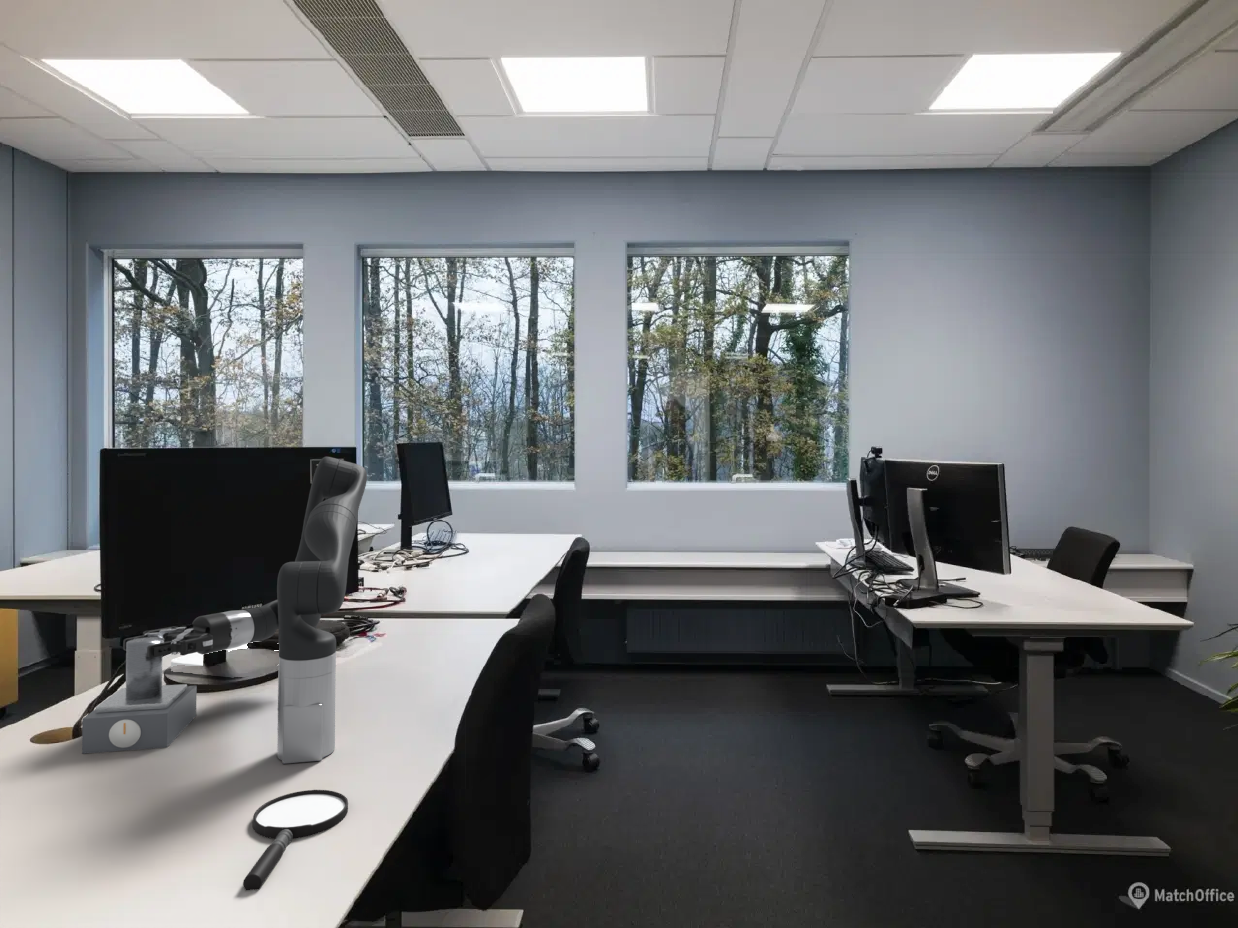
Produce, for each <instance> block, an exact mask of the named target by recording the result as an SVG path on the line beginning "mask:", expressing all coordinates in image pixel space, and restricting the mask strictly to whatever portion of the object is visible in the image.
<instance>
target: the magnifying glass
mask: <svg viewBox="0 0 1238 928" xmlns="http://www.w3.org/2000/svg"><path fill="white" fill-rule="evenodd" d="M348 811H349V801H348V798H347V797H346V796H345V795H344V794H342V793H340V792H337V791H335V790H327V789H309V790H300V791H295V792H292V793H290V792H289V793H287V794H284V795H280V796H278V797H275V798H273V799H270V800H268V801H267V802H264V804H262V805H261V806H259V807H258V808H257V809H256V810H255V811H254V813H253V816H252V828H253V831H254V833H256V834H257V835H259V836H261V837H263V838H266V839H270V840H271V839H272V840H273V841H272V842H271V843H270V844H269V846H267V847H266V849H265V850H264V852H263V853H262V854H261V855H260V857H259V858H258V860H257V861H256V862H255V863H254V866H252V868H251V869H250V871H249V872H248V873H247V875H245V878H244V879H243V882H242V886H243V888H244V890H245V891H257V890H260V889H261V887H262V886H263V885H264V884H265V882H266V880H267V879H268V877H269V876H270V875H271V872H273V870H274V869H275V867H276V866H277V864H278V863H279V861H280V859H281V858H282V857H283V855H284V852H285V851H286V848H287V846H288V845H290V843H291V842H292V841H293V840H296V839H302V838H307V837H311V836H314V835H318V834H320V833H323V832H325V831H327V830H330V829H332V828H333V827H336V826H337V825H338V824H339V823H341V822H342V821H343V820H344V819H346V817H347V814H348V813H349V812H348Z"/></svg>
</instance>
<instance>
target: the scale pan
mask: <svg viewBox="0 0 1238 928" xmlns="http://www.w3.org/2000/svg"><path fill="white" fill-rule="evenodd" d="M187 686H188V684H187V683H185V684H165V685H162V693H161V694H160V695H158V696H156V697H152V698H148V699H141V700H129V699H126V687H121V688H120V689H118V690H117V691H115V692H114V693H113V694H111V695H110V696H109V697H108V698H106V699H104V701H102V702H100V703H99V704H98V705H97V706H96V707H95V709H96V713H103V712H118V711H134V710H150V709H166V708H167V707H168V706H170V705H171V704H172V703H173V702H174V701H175V700H176V699H177V698H178V697H179V696H180V695H181V694H182V693H183V692H184V691H186V690H187Z"/></svg>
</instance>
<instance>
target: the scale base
mask: <svg viewBox="0 0 1238 928" xmlns="http://www.w3.org/2000/svg"><path fill="white" fill-rule="evenodd" d="M197 690H198V688H197V685H187V690H186V691H184V692H183V693H182V694H181V695H180V696H179V697H178V698H177V699H176V700H175V701H174V702H173V703H172V704H171V705H170V706H168V707H167V708H166V709H150V710H134V711H118V712H103V713H96V708H95V709H93V710H92V711H91V712H90V713H88V714H87V715H86V716H84V717H83V718H82V719H81V720H82V721H81V723H82V728H81V729H82V730H81V731H82V733H81V736H82V737H81V742H82V743H81V754H94V753H95V754H97V753H107V752H109V753H110V752H122V751H123V752H124V751H133V750H134V751H135V750H149V749H150V750H151V749H161V748H163V749H164V748H168V747H169V746H170V745H171V744H172V743H173V742H174V741H175V740H176V738H177V737H178V736H179V735H180V734H181V733H182V732H183V731H184V730H185V728H187V727H188V725H189V724H190V723H191V722H192V721H193V720H194V719H195V718H196V717H197ZM195 716H196V717H195ZM194 717H195V718H194ZM193 718H194V719H193Z"/></svg>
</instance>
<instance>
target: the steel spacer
mask: <svg viewBox="0 0 1238 928" xmlns="http://www.w3.org/2000/svg"><path fill="white" fill-rule="evenodd" d="M158 643H163V639H162V638H159V637H156V636H152V637H146V638H138V639H133V640H130V641H128V642H126V650H125V651H126V653H125V688H126V699H129V700H141V699H148V698H152V697H156V696H158V695H160V694H161V693H162V686H163V656H158V657H154V658H150V657H148V656H147V647H148V646H149V645H153V644H158Z"/></svg>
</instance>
